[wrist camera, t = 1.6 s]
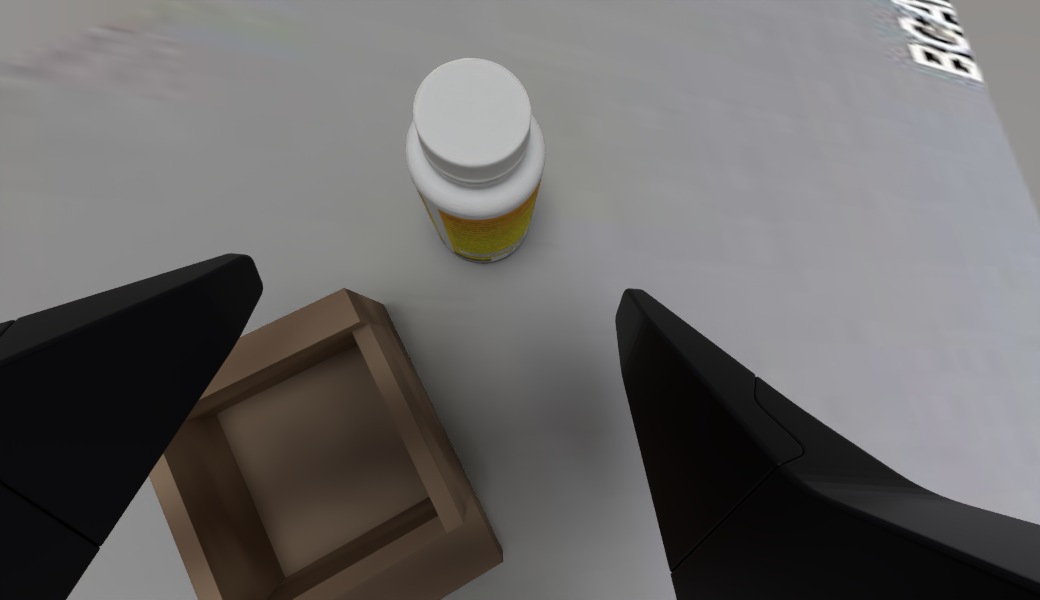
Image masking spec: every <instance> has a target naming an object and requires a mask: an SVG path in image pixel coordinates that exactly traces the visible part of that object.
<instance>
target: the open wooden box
mask: <svg viewBox="0 0 1040 600" xmlns="http://www.w3.org/2000/svg"><path fill="white" fill-rule="evenodd" d="M149 477H150V480H151V482H152V485H153V487H154V490H155V492H156V495H157V497H158V500H159V503H160V505H161V508H162V510H163V513H164V515H165V518H166V520H167V523H168V525H169V528H170V530H171V533H172V535H173V538H174V540H175V543H176V545H177V548H178V550H179V553H180V555H181V558H182V560H183V563H184V565H185V568H186V570H187V573H188V575H189V578H190V580H191V583H192V585H193V588H194V591H195V593H196V596H197V598H198V600H440V599H442V598H443V597H445V596H447V595H448V594H450V593H452V592H453V591H455V590H457V589H458V588H460V587H462V586H463V585H465V584H467V583H468V582H470V581H472V580H473V579H475V578H476V577H478V576H480V575H481V574H483V573H485V572H486V571H488V570H490V569H491V568H493V567H495V566H496V565H498V564H500V563H501V562H503V550H502V548H501V546H500V544H499V542H498V540H497V538H496V536H495V534H494V532H493V530H492V528H491V526H490V524H489V522H488V519H487V517H486V515H485V513H484V511H483V509H482V507H481V505H480V503H479V501H478V499H477V497H476V495H475V493H474V491H473V488H472V486H471V484H470V482H469V480H468V478H467V476H466V474H465V472H464V470H463V468H462V466H461V464H460V462H459V460H458V458H457V455H456V453H455V451H454V449H453V447H452V445H451V443H450V441H449V439H448V437H447V435H446V433H445V431H444V429H443V427H442V424H441V422H440V420H439V418H438V416H437V414H436V412H435V410H434V408H433V406H432V404H431V402H430V400H429V398H428V396H427V394H426V391H425V389H424V387H423V385H422V383H421V381H420V379H419V377H418V375H417V373H416V371H415V369H414V367H413V365H412V363H411V360H410V358H409V356H408V354H407V352H406V350H405V348H404V346H403V344H402V342H401V340H400V338H399V336H398V334H397V332H396V330H395V327H394V325H393V323H392V321H391V319H390V317H389V315H388V313H387V311H386V309H385V307H384V305H383V304H381V303H379V302H376V301H374V300H372V299H369V298H367V297H365V296H362V295H360V294H357V293H355V292H353V291H350V290H348V289H345V288H343V289H341V290H339V291H337V292H335V293H333V294H331V295H329V296H327V297H324V298H322V299H320V300H318V301H316V302H314V303H312V304H310V305H307V306H305V307H303V308H301V309H299V310H297V311H295V312H293V313H291V314H288V315H286V316H284V317H282V318H280V319H278V320H276V321H274V322H272V323H269V324H267V325H265V326H263V327H261V328H259V329H257V330H255V331H253V332H250V333H248V334H246V335H244V336H242V337H240V338H239V339H238V341H237V343H236V345H235V346H234V348H233V350H232V351H231V353H230V354H229V356H228V357H227V359H226V360H225V362H224V363H223V365H222V366H221V368H220V369H219V371H218V372H217V374H216V375H215V377H214V378H213V380H212V381H211V383H210V384H209V386H208V387H207V389H206V390H205V392H204V393H203V395H202V396H201V398H200V399H199V401H198V402H197V404H196V405H195V407H194V408H193V410H192V411H191V413H190V414H189V416H188V417H187V419H186V420H185V422H184V423H183V425H182V426H181V428H180V429H179V431H178V432H177V434H176V435H175V437H174V438H173V440H172V441H171V443H170V444H169V446H168V447H167V449H166V450H165V452H164V453H163V455H162V456H161V458H160V459H159V461H158V462H157V464H156V465H155V467H154V468H153V470H152V471H151V473H150V474H149Z"/></svg>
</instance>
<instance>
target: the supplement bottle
mask: <svg viewBox="0 0 1040 600" xmlns="http://www.w3.org/2000/svg"><path fill="white" fill-rule="evenodd" d="M406 161H407V166H408V170H409V172H410V175H411V178H412V180H413V183H414V185H415V187H416V189H417V191H418V193H419V195H420V197H421V199H422V201H423V203H424V205H425V207H426V210H427V212H428V214H429V216H430V218H431V220H432V222H433V224H434V226H435V228H436V230H437V232H438V234H439V236H440V237H441V239H442V241H443V242H444V243H445V245H446V246H447V247H448V248H449V249H450V250H451V251H452V252H454V253H455V254H456V255H458V256H460V257H462V258H464V259H466V260H470V261H474V262H484V263H485V262H493V261H497V260H500V259H502V258H504V257H506V256H508V255H509V254H511V253H512V252H513V251H515V250H516V249H517V248H518V247H519V245H520V244H521V243H522V241H523V240H524V238H525V236H526V233H527V231H528V228H529V224H530V220H531V216H532V212H533V208H534V205H535V201H536V197H537V193H538V189H539V185H540V181H541V177H542V173H543V168H544V162H545V145H544V139H543V135H542V132H541V130H540V127H539V125H538V123H537V121H536V119H535V118H534V116H533V115H532V113H531V106H530V101H529V98H528V95H527V93H526V91H525V89H524V87H523V86H522V84H521V83H520V81H519V80H518V79H517V78H516V77H515V76H514V75H513V74H512V73H511V72H510V71H508V70H507V69H506V68H504V67H502V66H500V65H498V64H496V63H494V62H491V61H488V60H484V59H478V58H463V59H457V60H453V61H450V62H447V63H445V64H443V65H441V66H439V67H438V68H436V69H435V70H433V71H432V72H431V73H430V74H429V75H428V76H427V77H426V78H425V79H424V81H423V82H422V83H421V85H420V87H419V89H418V90H417V93H416V96H415V99H414V105H413V121H412V123H411V126H410V128H409V131H408V134H407V139H406Z"/></svg>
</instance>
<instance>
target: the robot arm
mask: <svg viewBox="0 0 1040 600" xmlns="http://www.w3.org/2000/svg"><path fill="white" fill-rule="evenodd" d="M262 291H263V284H262V281H261V278H260V276H259V273H258V271H257V268H256V266H255V263H254V261H253V259H252V258H251V257H250V256H248V255H244V254H233V253H230V254H225V255H222V256H219V257H215V258H212V259H209V260H206V261H202V262H199V263H196V264H193V265H189V266H186V267H183V268H180V269H176V270H173V271H170V272H167V273H163V274H160V275H157V276H154V277H150V278H147V279H144V280H141V281H137V282H134V283H131V284H128V285H124V286H121V287H118V288H115V289H111V290H108V291H105V292H101V293H98V294H95V295H92V296H88V297H85V298H82V299H79V300H75V301H72V302H69V303H66V304H62V305H59V306H56V307H53V308H49V309H46V310H43V311H40V312H36V313H33V314H30V315H27V316H23V317H20V318H18V319H17V320H16V321H15V320H10V321H7V322H4V323H0V600H66V599H67V597H68V596H69V594H70V593H71V591H72V590H73V588H74V587H75V585H76V584H77V582H78V581H79V579H80V578H81V576H82V575H83V573H84V572H85V570H86V569H87V567H88V566H89V564H90V563H91V561H92V560H93V558H94V557H95V556H96V554H97V553H98V551H99V549H100V547H99V546H101V545H102V544H103V543H104V541H105V540H106V538H107V537H108V535H109V534H110V532H111V531H112V529H113V528H114V526H115V525H116V523H117V522H118V520H119V519H120V517H121V516H122V514H123V513H124V511H125V510H126V508H127V507H128V505H129V504H130V503H131V501H132V500H133V498H134V497H135V495H136V494H137V492H138V491H139V489H140V488H141V486H142V485H143V483H144V482H145V480H146V479H147V477H148V476H149V474H150V473H151V471H152V470H153V468H154V467H155V465H156V464H157V462H158V461H159V459H160V458H161V456H162V455H163V453H164V452H165V450H166V449H167V447H168V446H169V444H170V443H171V441H172V440H173V438H174V437H175V435H176V434H177V432H178V431H179V429H180V428H181V426H182V425H183V423H184V422H185V420H186V419H187V417H188V416H189V414H190V413H191V411H192V410H193V408H194V407H195V405H196V404H197V402H198V401H199V399H200V398H201V396H202V395H203V393H204V392H205V390H206V389H207V387H208V386H209V384H210V383H211V381H212V380H213V378H214V377H215V375H216V374H217V372H218V371H219V369H220V368H221V366H222V365H223V363H224V362H225V360H226V359H227V357H228V356H229V354H230V353H231V351H232V350H233V348H234V346H235V345H236V343H237V341H238V339H239V337H240V336H241V334H242V332H243V330H244V328H245V326H246V324H247V322H248V320H249V318H250V316H251V314H252V312H253V310H254V308H255V306H256V304H257V303H258V301H259V299H260V297H261V295H262ZM615 322H616V331H617V340H618V349H619V357H620V366H621V372H622V378H623V382H624V386H625V390H626V394H627V399H628V403H629V407H630V411H631V415H632V419H633V423H634V427H635V431H636V435H637V439H638V443H639V447H640V451H641V455H642V459H643V463H644V467H645V472H646V476H647V480H648V484H649V488H650V492H651V496H652V500H653V504H654V508H655V512H656V516H657V520H658V524H659V528H660V532H661V536H662V540H663V544H664V549H665V553H666V557H667V561H668V565H669V569H670V571H671V572H672V573H671V578H672V582H673V586H674V590H675V594H676V598H677V600H1040V525H1038V524H1034V523H1031V522H1027V521H1023V520H1020V519H1016V518H1013V517H1009V516H1006V515H1002V514H998V513H995V512H991V511H988V510H984V509H980V508H977V507H973V506H970V505H966V504H963V503H960V502H957V501H954V500H951V499H948V498H946V497H943V496H940V495H938V494H936V493H934V492H932V491H929V490H927V489H925V488H923V487H921V486H919V485H917V484H915V483H913V482H912V481H910V480H908V479H907V478H905V477H903V476H902V475H900V474H899V473H897V472H895V471H894V470H892V469H891V468H889V467H888V466H886V465H885V464H883V463H882V462H880V461H879V460H877V459H876V458H874V457H873V456H871V455H870V454H868V453H867V452H865V451H864V450H862V449H861V448H859V447H858V446H856V445H855V444H853V443H852V442H850V441H849V440H847V439H846V438H844V437H843V436H841V435H840V434H838V433H837V432H835V431H834V430H832V429H831V428H829V427H828V426H826V425H825V424H823V423H822V422H821V421H819V420H818V419H816V418H815V417H813V416H812V415H810V414H809V413H807V412H806V411H804V410H803V409H802V408H800V407H799V406H797V405H796V404H794V403H793V402H792V401H790V400H789V399H787V398H786V397H785V396H783V395H782V394H781V393H779V392H778V391H777V390H775V389H774V388H772V387H771V386H770V385H768V384H767V383H766V382H765V381H763V380H762V379H761V378H759V377H755V374H754V373H753V372H751V371H750V370H749V369H747V368H746V367H745V366H743V365H742V364H741V363H739V362H738V361H737V360H735V359H734V358H733V357H731V356H730V355H729V354H727V353H726V352H725V351H723V350H722V349H721V348H719V347H718V346H717V345H715V344H714V343H713V342H711V341H710V340H709V339H707V338H706V337H705V336H703V335H702V334H701V333H699V332H698V331H697V330H695V329H694V328H693V327H691V326H690V325H689V324H687V323H686V322H685V321H683V320H682V319H681V318H679V317H678V316H677V315H675V314H674V313H673V312H672V311H670V310H669V309H668V308H666V307H665V306H664V305H662V304H661V303H660V302H658V301H657V300H656V299H654V298H653V297H652V296H650V295H649V294H648V293H646V292H645V291H644V290H641V289H629V288H628V289H626V290H625V291H624V293H623V296H622V299H621V301H620V304H619V307H618V310H617V314H616V321H615Z"/></svg>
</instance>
